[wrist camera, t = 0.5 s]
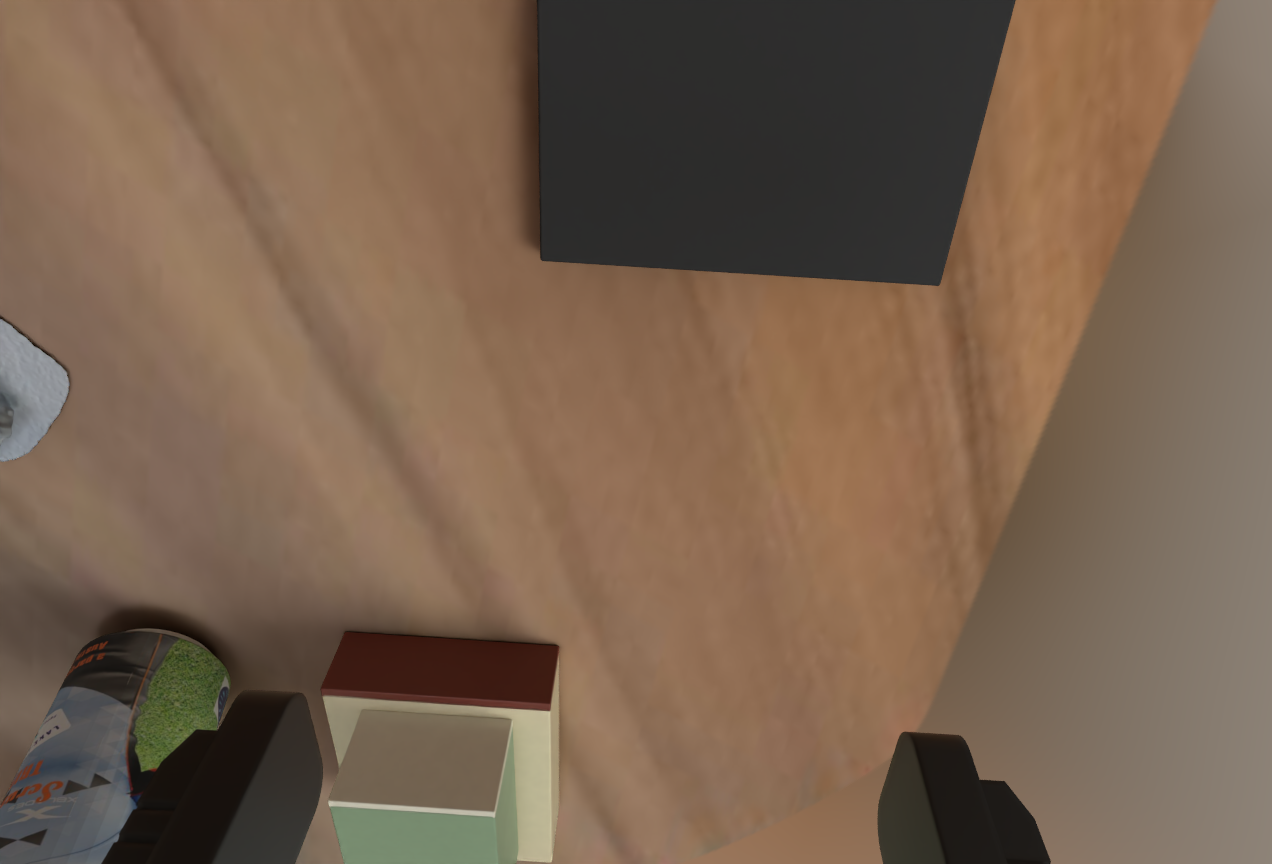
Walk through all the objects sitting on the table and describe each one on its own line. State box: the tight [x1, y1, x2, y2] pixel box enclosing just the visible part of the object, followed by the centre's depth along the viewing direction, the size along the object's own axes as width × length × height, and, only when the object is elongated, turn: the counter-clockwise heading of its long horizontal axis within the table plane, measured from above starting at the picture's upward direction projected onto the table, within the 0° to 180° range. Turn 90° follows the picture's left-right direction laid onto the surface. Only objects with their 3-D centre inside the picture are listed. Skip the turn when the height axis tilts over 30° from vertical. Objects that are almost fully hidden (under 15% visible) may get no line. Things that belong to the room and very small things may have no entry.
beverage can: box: [0, 628, 231, 864], centre depth 32 cm, size 6×7×12 cm
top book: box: [328, 710, 518, 864], centre depth 35 cm, size 9×6×4 cm, turn 177°
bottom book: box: [321, 632, 559, 862], centre depth 38 cm, size 11×9×3 cm
